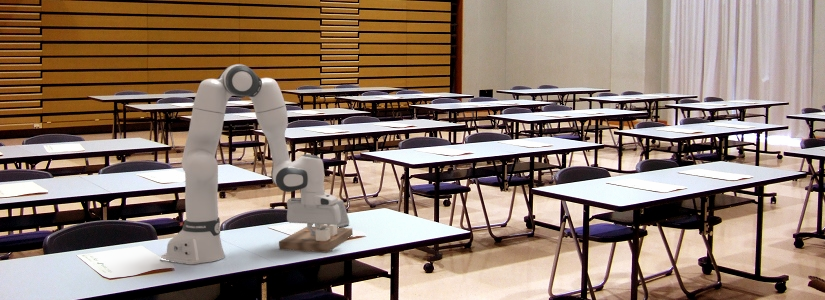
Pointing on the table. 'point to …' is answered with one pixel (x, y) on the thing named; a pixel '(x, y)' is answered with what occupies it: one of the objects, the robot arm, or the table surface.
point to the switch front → (322, 234)
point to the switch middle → (332, 229)
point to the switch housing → (313, 241)
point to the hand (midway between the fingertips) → (314, 235)
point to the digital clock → (342, 214)
